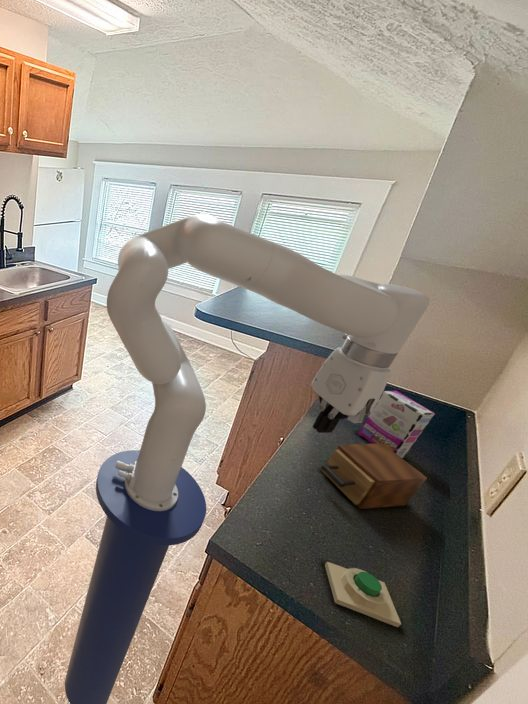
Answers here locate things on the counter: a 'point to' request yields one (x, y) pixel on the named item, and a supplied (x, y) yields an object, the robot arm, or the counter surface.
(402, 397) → the candy bar box
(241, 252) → the robot arm
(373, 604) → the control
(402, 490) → the cabinet
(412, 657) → the counter surface
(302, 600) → the counter surface
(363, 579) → the button
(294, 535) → the counter surface
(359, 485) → the drawer
